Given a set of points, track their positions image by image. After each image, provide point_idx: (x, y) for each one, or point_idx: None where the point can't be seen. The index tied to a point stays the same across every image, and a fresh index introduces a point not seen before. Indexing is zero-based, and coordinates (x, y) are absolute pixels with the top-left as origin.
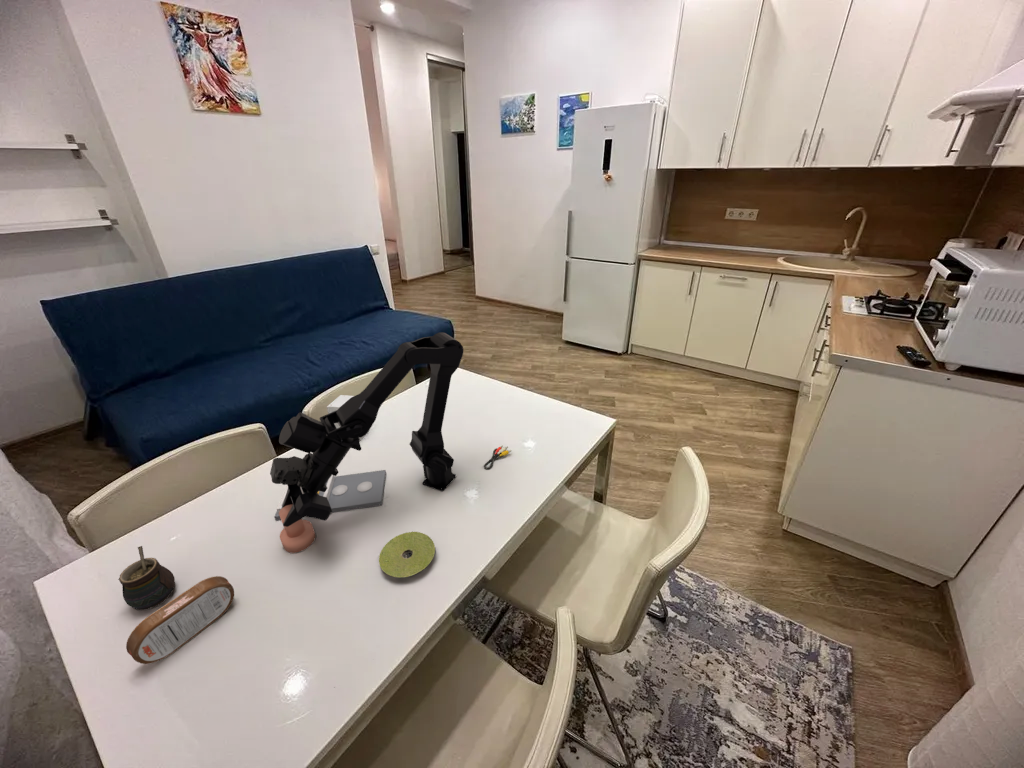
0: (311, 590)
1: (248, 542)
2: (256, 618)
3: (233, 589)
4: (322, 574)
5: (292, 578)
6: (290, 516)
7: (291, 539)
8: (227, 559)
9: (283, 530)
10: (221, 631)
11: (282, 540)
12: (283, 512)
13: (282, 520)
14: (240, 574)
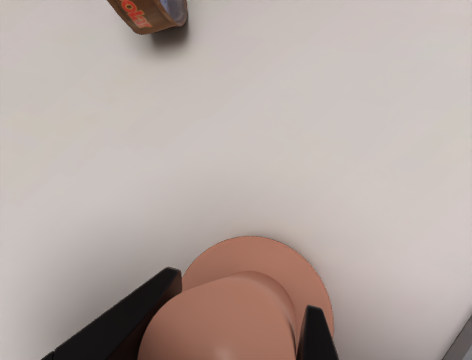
0: (16, 232)
1: (423, 145)
2: (65, 83)
3: (125, 21)
4: (38, 288)
5: (106, 206)
6: (73, 343)
7: (209, 274)
8: (381, 64)
9: (306, 272)
10: (104, 10)
11: (240, 241)
12: (222, 325)
13: (206, 283)
14: (265, 84)
